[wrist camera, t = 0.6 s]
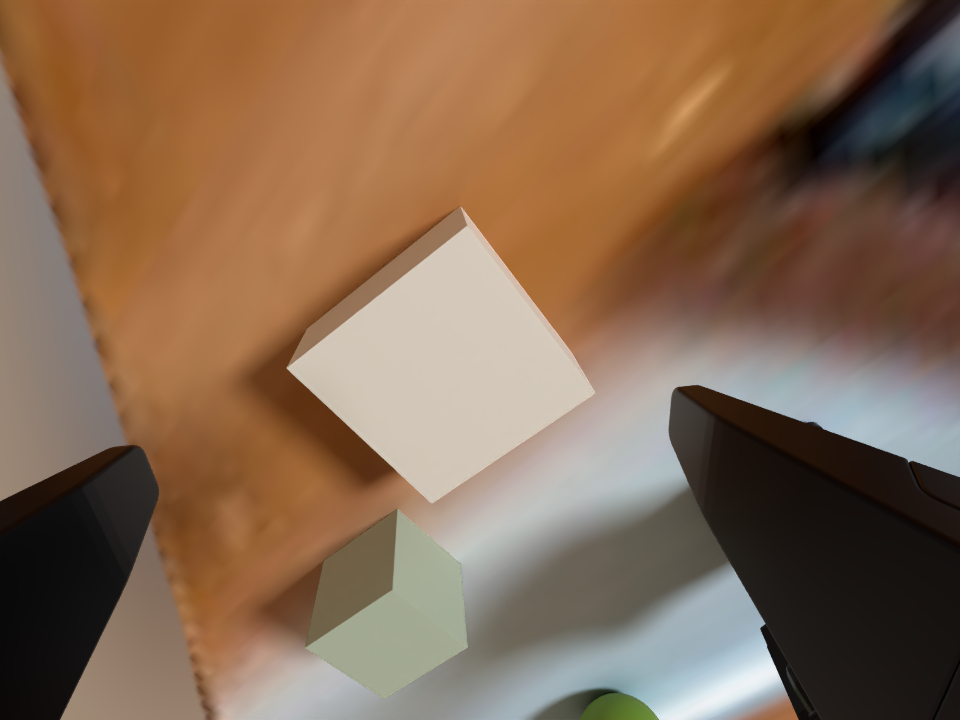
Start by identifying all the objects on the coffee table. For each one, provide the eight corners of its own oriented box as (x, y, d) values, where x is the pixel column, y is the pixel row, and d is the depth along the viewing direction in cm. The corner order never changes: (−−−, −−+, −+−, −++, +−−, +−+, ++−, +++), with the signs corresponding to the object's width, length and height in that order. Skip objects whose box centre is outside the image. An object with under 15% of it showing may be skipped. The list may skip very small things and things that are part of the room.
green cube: (460, 562, 29) (467, 647, 24) (389, 608, 30) (384, 698, 25) (397, 507, 27) (392, 589, 22) (324, 559, 28) (304, 648, 23)
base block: (570, 349, 24) (595, 393, 20) (430, 447, 26) (431, 503, 22) (459, 204, 21) (467, 225, 17) (308, 325, 22) (286, 368, 19)
